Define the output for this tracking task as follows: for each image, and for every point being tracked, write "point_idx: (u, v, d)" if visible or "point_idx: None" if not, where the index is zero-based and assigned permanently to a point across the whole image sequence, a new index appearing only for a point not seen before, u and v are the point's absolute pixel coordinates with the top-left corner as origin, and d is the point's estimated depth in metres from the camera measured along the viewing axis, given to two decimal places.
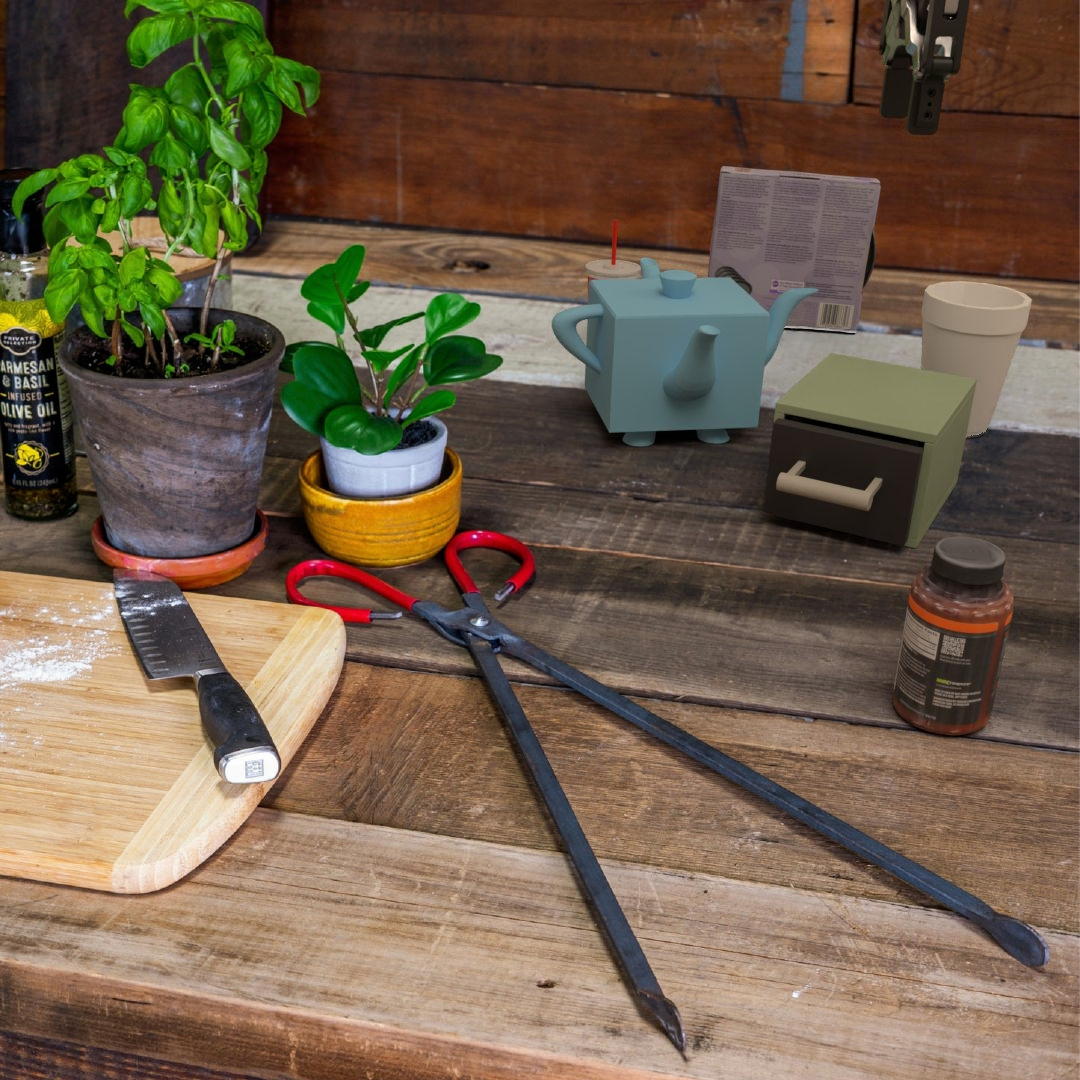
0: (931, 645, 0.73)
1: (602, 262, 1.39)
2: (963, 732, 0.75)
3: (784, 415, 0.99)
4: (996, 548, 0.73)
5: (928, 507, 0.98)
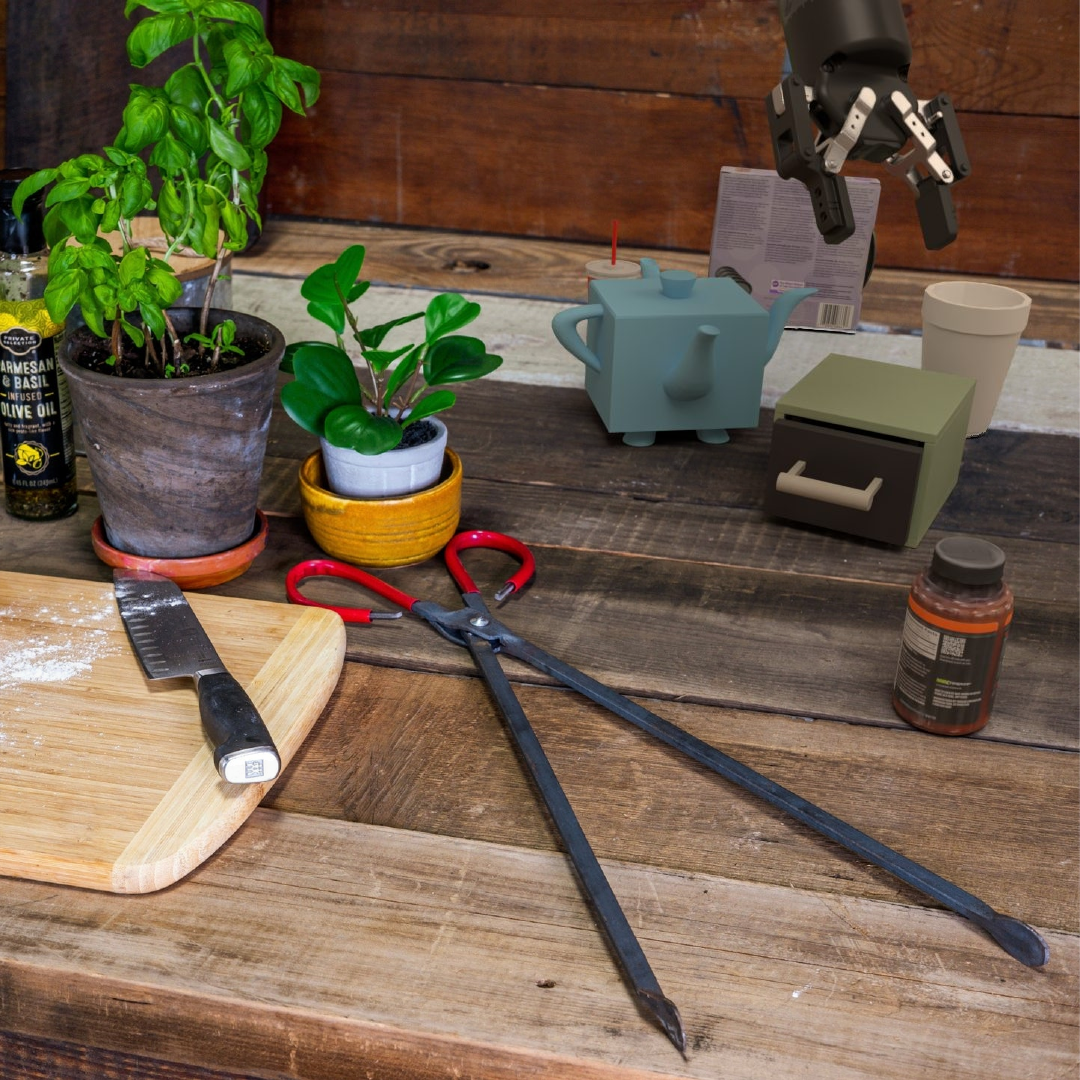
0: (931, 645, 0.73)
1: (602, 262, 1.39)
2: (963, 732, 0.75)
3: (784, 415, 0.99)
4: (996, 548, 0.73)
5: (928, 507, 0.98)
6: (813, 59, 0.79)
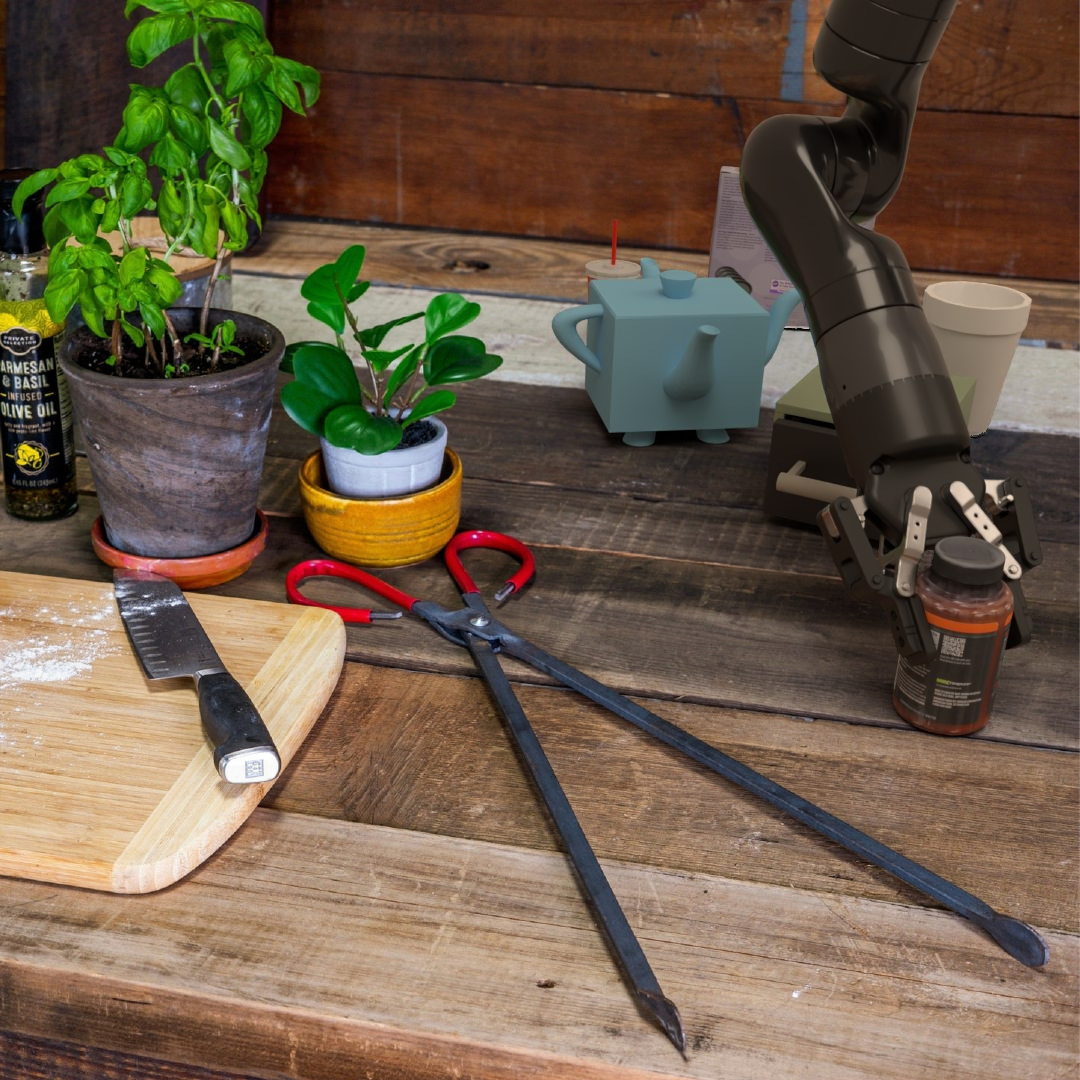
0: None
1: (602, 262, 1.39)
2: (963, 732, 0.75)
3: (784, 415, 0.99)
4: (996, 548, 0.73)
5: None
6: (860, 460, 0.76)
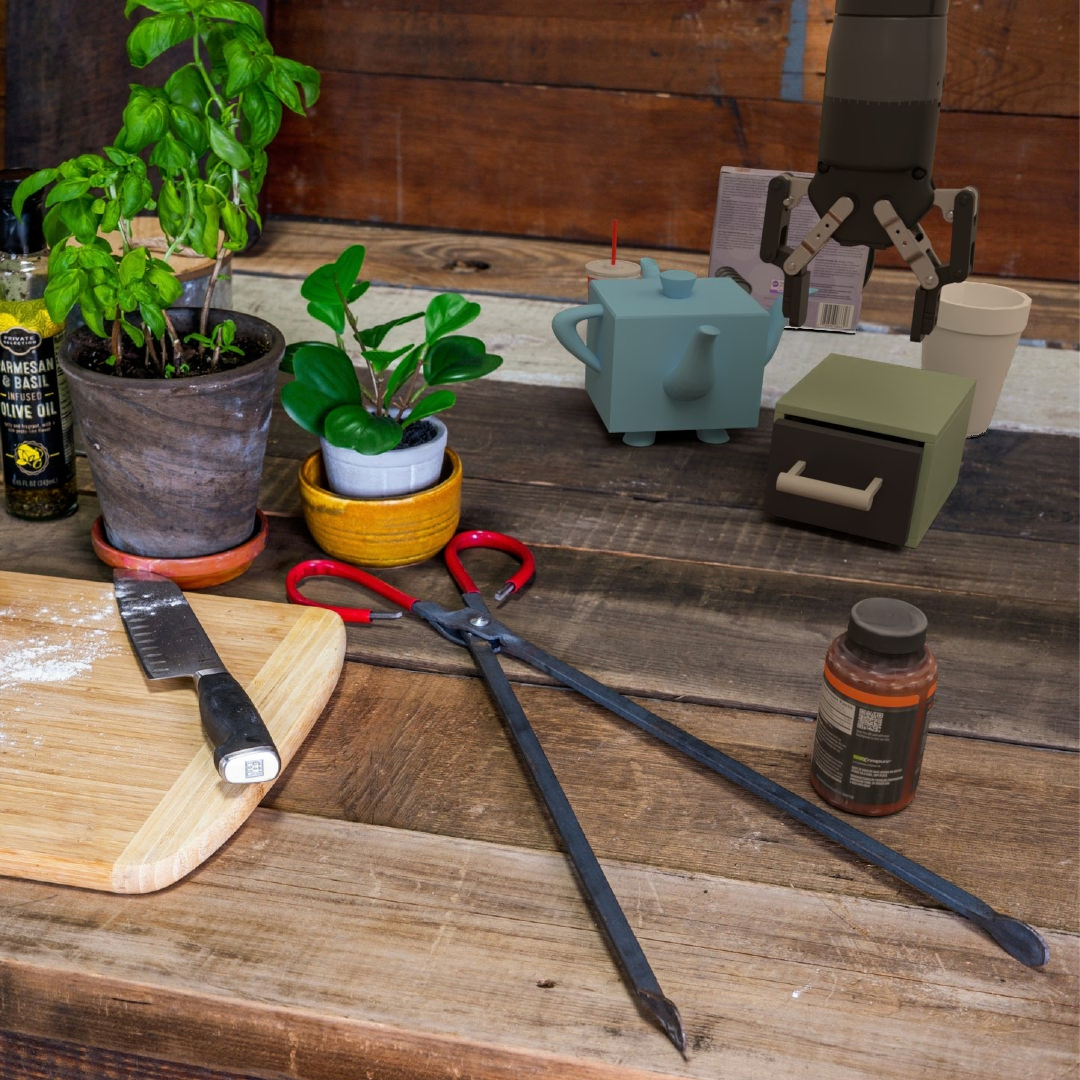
0: (846, 719, 0.66)
1: (602, 262, 1.39)
2: (884, 812, 0.68)
3: (784, 415, 0.99)
4: (918, 612, 0.66)
5: (928, 507, 0.98)
6: None
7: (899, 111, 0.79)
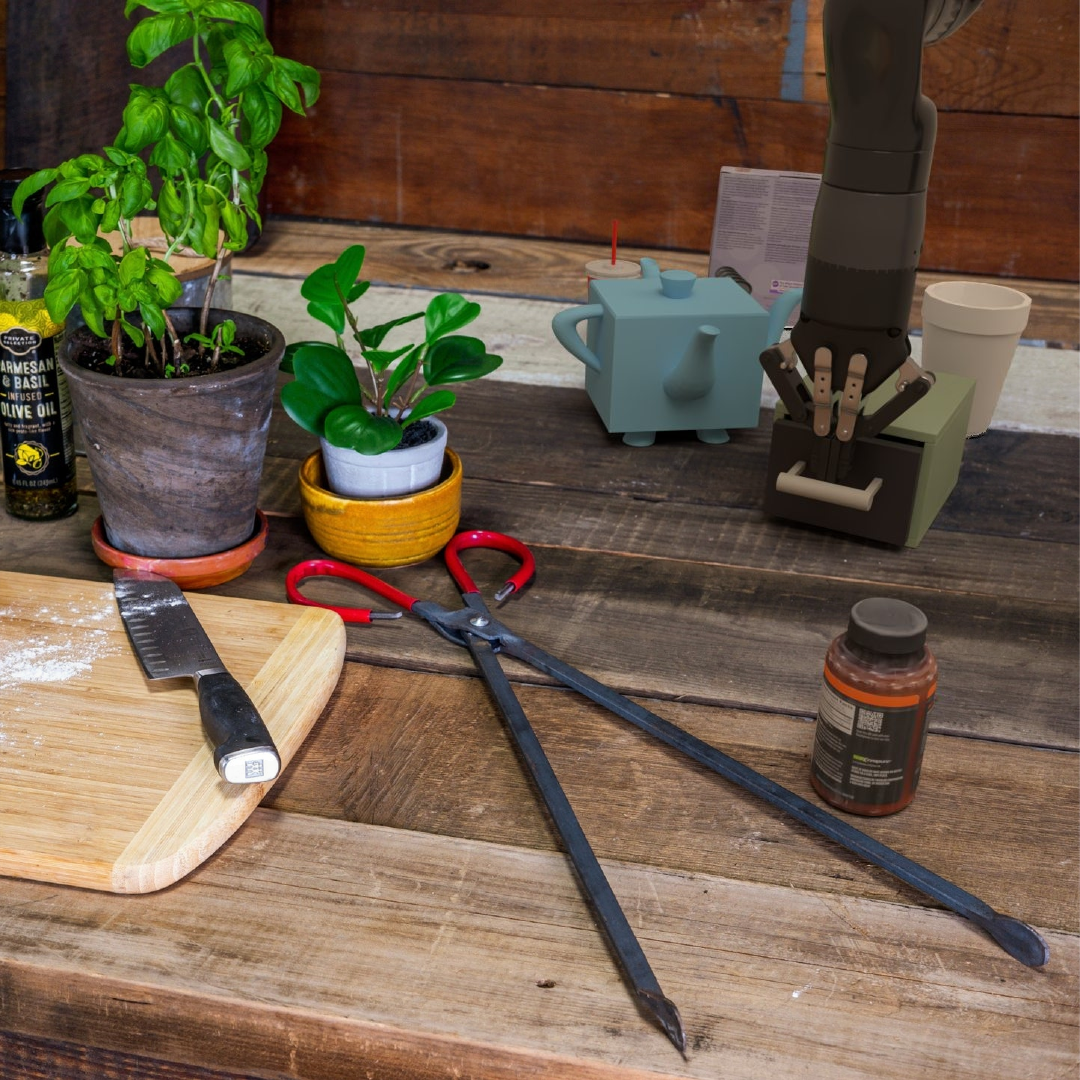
0: (846, 719, 0.66)
1: (602, 262, 1.39)
2: (884, 812, 0.68)
3: (784, 415, 0.99)
4: (918, 612, 0.66)
5: (928, 507, 0.98)
6: None
7: (876, 278, 0.84)
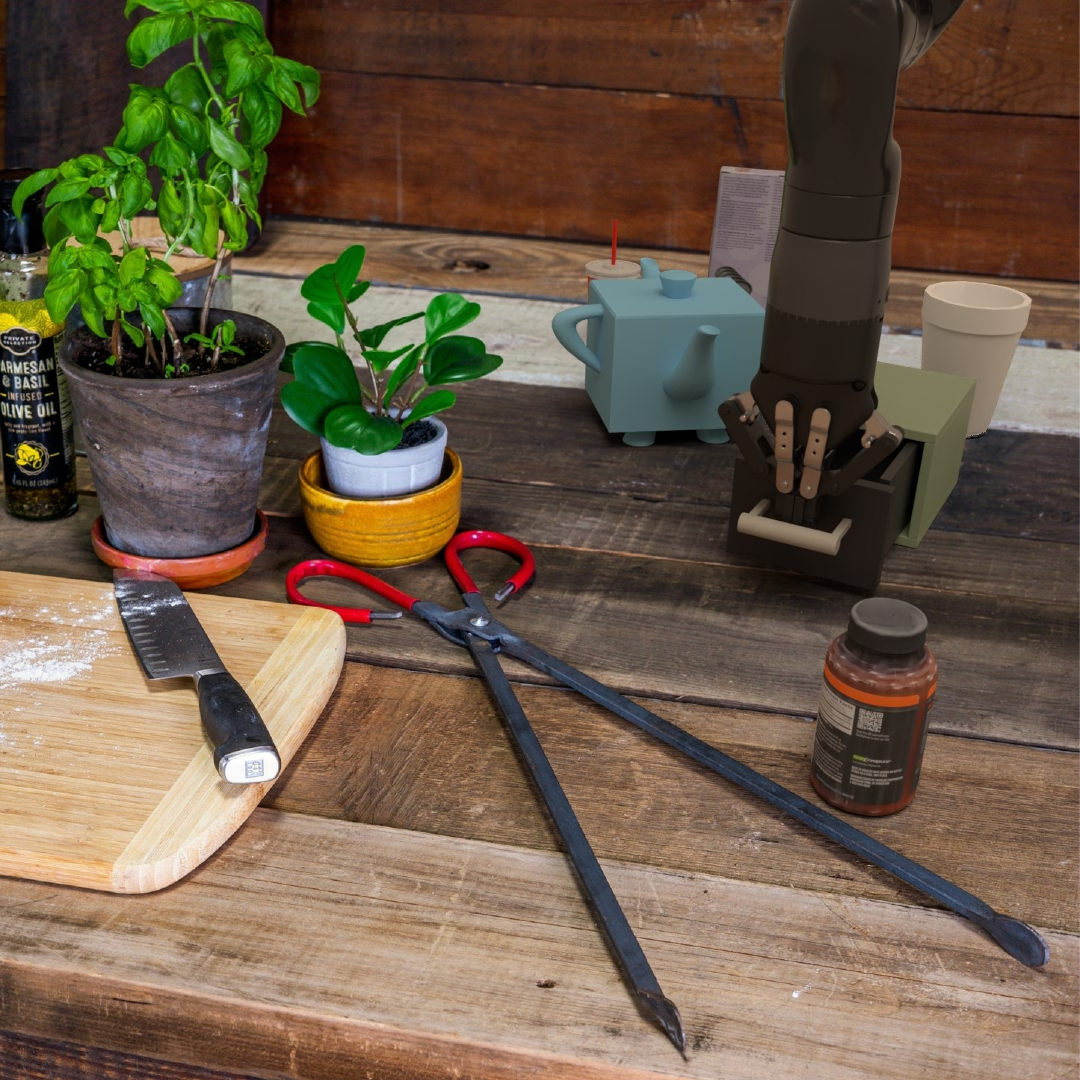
0: (846, 719, 0.66)
1: (602, 262, 1.39)
2: (884, 812, 0.68)
3: None
4: (918, 612, 0.66)
5: (928, 507, 0.98)
6: None
7: (838, 330, 0.78)
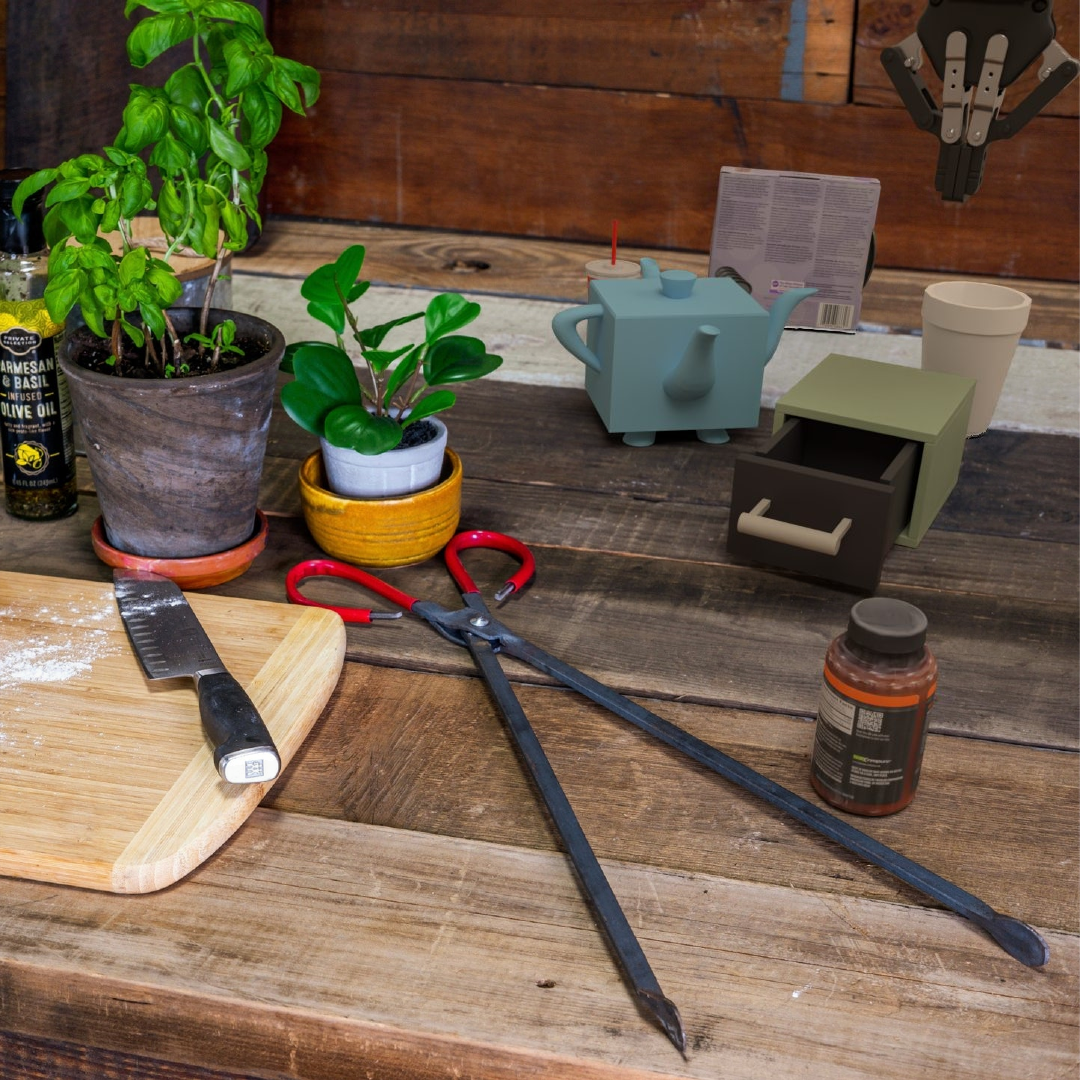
0: (846, 719, 0.66)
1: (602, 262, 1.39)
2: (884, 812, 0.68)
3: (784, 415, 0.99)
4: (918, 612, 0.66)
5: (928, 507, 0.98)
6: None
7: None
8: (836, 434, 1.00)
